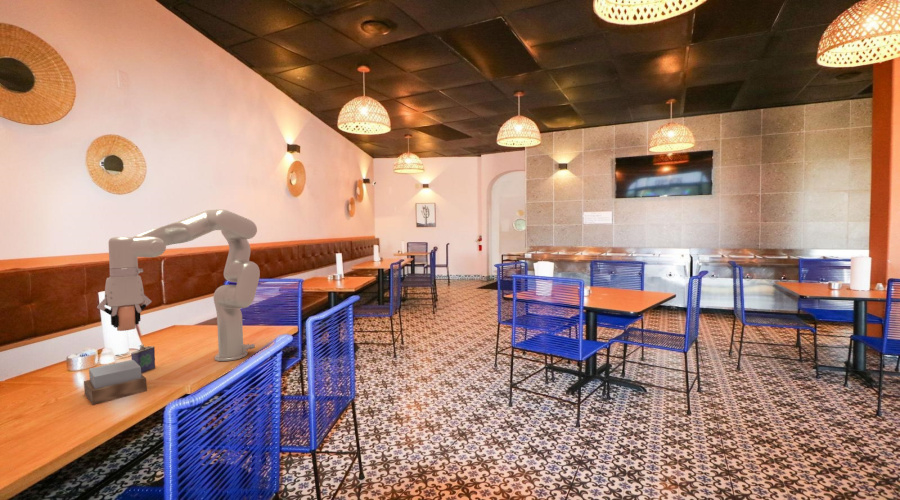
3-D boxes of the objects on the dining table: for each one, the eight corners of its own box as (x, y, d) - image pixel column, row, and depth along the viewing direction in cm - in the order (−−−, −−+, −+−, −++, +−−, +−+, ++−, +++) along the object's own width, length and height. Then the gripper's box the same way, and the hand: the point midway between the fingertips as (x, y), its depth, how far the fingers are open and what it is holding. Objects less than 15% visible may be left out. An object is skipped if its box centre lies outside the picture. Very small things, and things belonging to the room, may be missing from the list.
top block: (133, 370, 144) (133, 359, 144) (141, 378, 136) (140, 366, 136) (89, 380, 135) (88, 368, 135) (95, 389, 127) (94, 377, 127)
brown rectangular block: (133, 326, 139) (132, 304, 139) (137, 328, 136) (136, 305, 136) (115, 329, 136) (114, 306, 135) (119, 331, 132) (118, 307, 132)
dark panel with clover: (136, 376, 151) (134, 348, 150) (129, 375, 151) (127, 348, 150) (157, 367, 160) (155, 341, 159) (151, 367, 160) (149, 341, 160)
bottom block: (136, 382, 145) (135, 369, 145) (146, 392, 136) (146, 378, 136) (84, 395, 134) (83, 381, 134) (93, 406, 125) (92, 391, 125)
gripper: (150, 270, 144) (152, 319, 145) (88, 274, 131) (90, 328, 132) (157, 271, 140) (159, 322, 140) (93, 275, 126) (96, 331, 127)
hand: (126, 324), depth 136 cm, fingers closed on brown rectangular block, 5 cm apart
